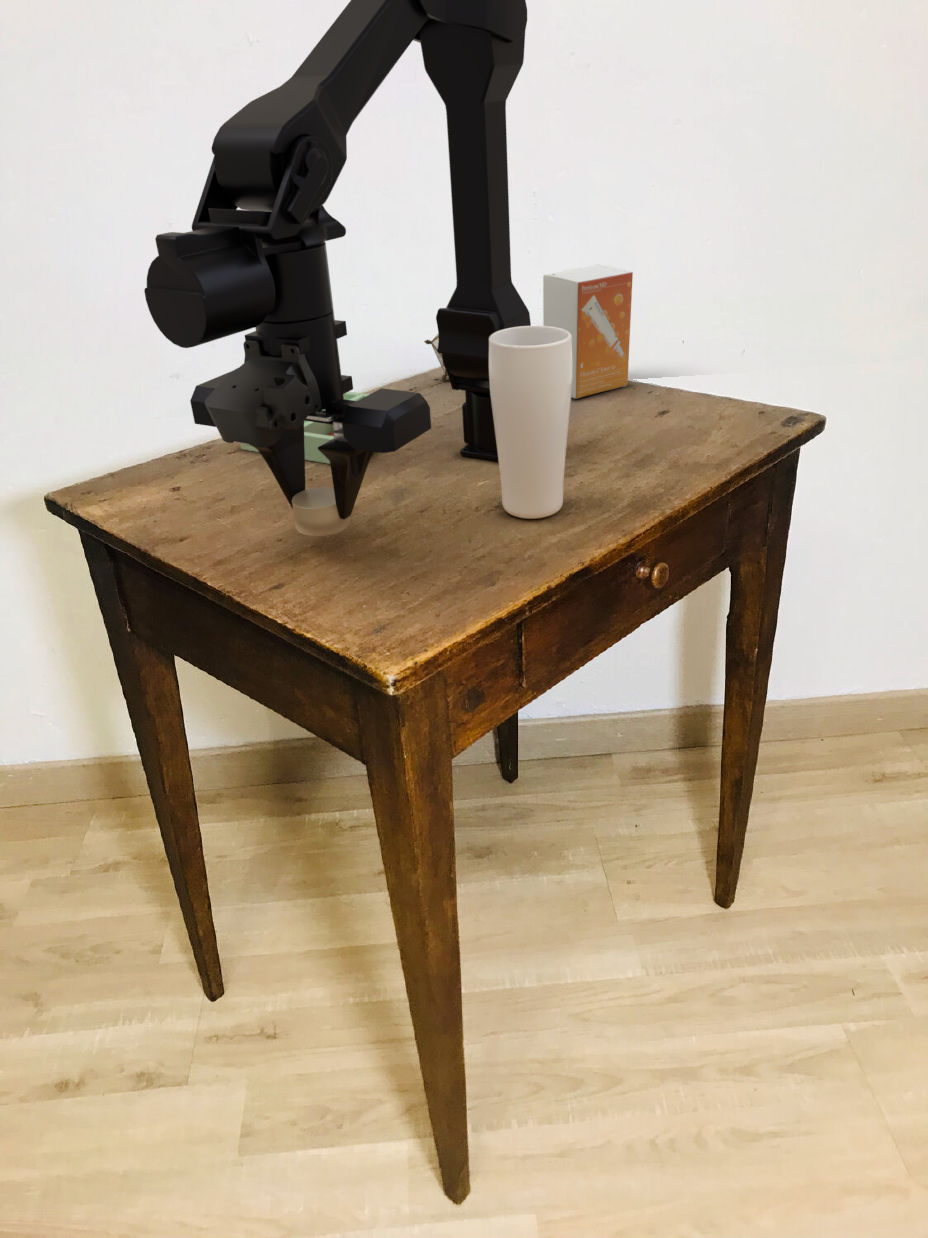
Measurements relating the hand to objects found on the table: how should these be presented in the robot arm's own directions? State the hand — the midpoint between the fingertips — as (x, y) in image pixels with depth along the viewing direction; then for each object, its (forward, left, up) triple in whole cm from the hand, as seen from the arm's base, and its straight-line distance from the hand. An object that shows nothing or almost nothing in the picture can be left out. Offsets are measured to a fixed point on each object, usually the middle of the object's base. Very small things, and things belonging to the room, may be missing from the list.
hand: (321, 512), depth 76 cm
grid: (+16, -23, -4) cm, 28 cm away
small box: (-3, -48, -4) cm, 48 cm away
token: (0, 0, -1) cm, 1 cm away
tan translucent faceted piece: (+12, -46, -4) cm, 48 cm away
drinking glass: (-12, -14, -4) cm, 19 cm away
